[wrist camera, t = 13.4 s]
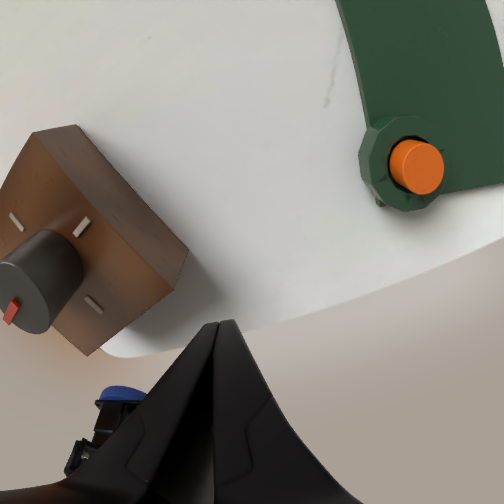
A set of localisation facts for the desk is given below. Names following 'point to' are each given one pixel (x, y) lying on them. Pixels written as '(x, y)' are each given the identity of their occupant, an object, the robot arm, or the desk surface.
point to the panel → (90, 233)
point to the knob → (38, 281)
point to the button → (417, 166)
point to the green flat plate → (427, 91)
